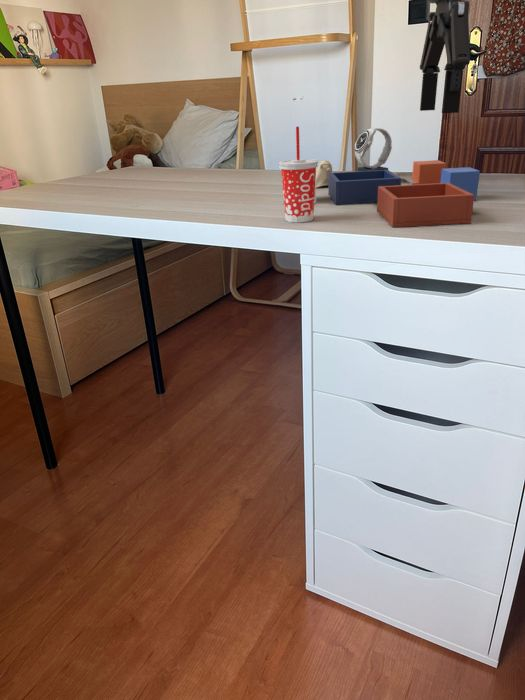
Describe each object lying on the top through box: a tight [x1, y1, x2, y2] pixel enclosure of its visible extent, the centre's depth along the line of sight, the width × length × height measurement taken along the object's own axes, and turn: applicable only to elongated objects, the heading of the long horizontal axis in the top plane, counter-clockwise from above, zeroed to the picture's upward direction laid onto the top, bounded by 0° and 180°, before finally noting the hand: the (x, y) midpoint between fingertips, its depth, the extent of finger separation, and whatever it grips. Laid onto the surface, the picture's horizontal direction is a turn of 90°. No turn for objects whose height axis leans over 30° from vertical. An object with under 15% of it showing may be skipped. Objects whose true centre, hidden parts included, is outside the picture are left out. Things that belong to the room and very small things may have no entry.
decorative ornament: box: [316, 159, 333, 189], centre depth 113 cm, size 4×8×5 cm, turn 175°
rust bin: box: [376, 183, 475, 228], centre depth 82 cm, size 12×12×4 cm
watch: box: [353, 127, 393, 171], centre depth 113 cm, size 6×8×11 cm
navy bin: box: [327, 169, 402, 206], centre depth 99 cm, size 12×12×4 cm
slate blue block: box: [441, 166, 481, 202], centre depth 93 cm, size 5×5×5 cm
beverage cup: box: [278, 126, 319, 223], centre depth 83 cm, size 6×6×14 cm
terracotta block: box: [411, 159, 447, 185], centre depth 104 cm, size 5×5×5 cm
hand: (437, 111), depth 98 cm, fingers open, 13 cm apart
